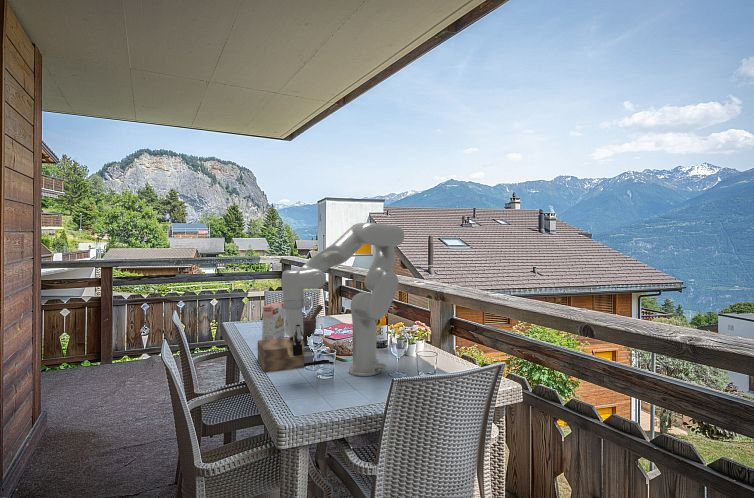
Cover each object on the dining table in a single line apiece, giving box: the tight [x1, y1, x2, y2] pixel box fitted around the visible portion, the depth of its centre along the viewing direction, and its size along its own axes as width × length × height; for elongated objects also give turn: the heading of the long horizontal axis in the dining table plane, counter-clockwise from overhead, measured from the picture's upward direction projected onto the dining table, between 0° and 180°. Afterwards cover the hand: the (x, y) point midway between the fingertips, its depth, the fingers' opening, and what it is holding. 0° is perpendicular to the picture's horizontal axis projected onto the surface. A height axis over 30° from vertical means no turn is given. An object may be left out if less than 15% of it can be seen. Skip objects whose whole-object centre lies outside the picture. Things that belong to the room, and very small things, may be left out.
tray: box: [304, 334, 335, 364], centre depth 187 cm, size 16×18×8 cm
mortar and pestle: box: [301, 304, 324, 347], centre depth 217 cm, size 12×9×20 cm
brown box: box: [257, 337, 305, 373], centre depth 182 cm, size 16×18×9 cm
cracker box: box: [261, 302, 286, 340], centre depth 211 cm, size 14×6×21 cm, turn 168°
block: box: [287, 339, 305, 357], centre depth 157 cm, size 5×5×5 cm
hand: (296, 352), depth 157 cm, fingers closed on block, 4 cm apart
